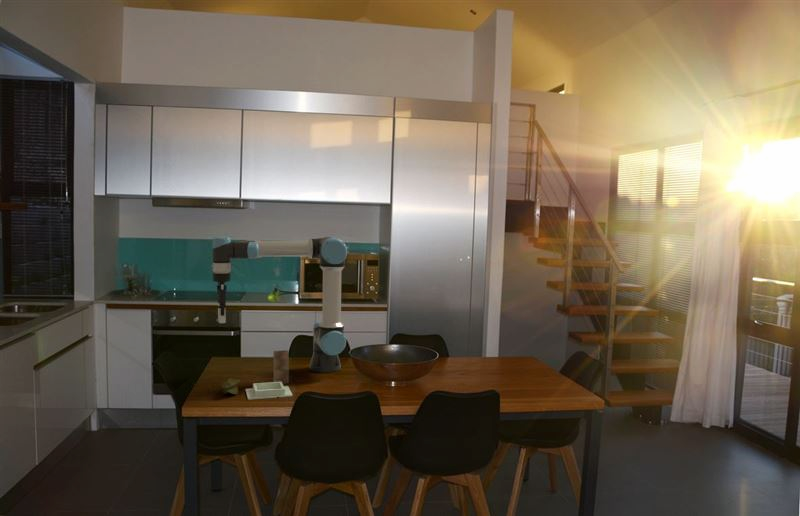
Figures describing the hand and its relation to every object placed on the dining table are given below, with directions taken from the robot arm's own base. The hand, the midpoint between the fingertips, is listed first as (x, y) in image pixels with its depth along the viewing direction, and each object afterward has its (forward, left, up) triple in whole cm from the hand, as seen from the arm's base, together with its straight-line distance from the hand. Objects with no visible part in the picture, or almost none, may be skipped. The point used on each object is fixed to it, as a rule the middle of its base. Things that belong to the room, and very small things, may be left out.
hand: (221, 320), depth 271 cm
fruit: (-2, +18, -28) cm, 34 cm away
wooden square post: (-25, +7, -28) cm, 38 cm away
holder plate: (-18, +22, -28) cm, 40 cm away
